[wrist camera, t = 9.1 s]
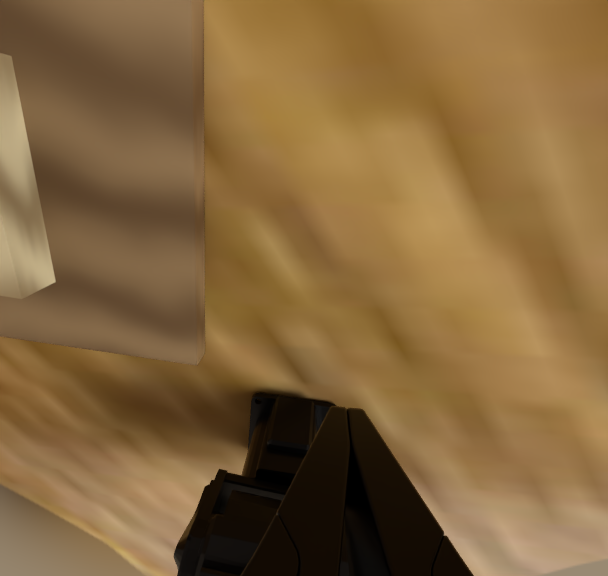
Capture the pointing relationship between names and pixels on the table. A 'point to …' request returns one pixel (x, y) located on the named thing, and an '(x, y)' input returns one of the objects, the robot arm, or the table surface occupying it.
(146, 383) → the table surface
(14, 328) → the bench board
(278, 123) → the table surface
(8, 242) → the maple plate
